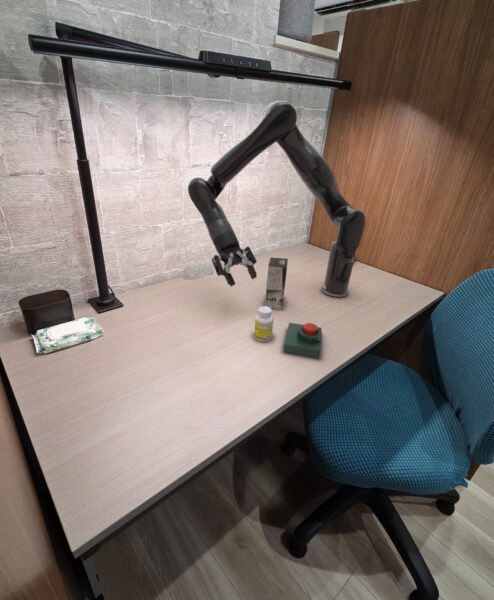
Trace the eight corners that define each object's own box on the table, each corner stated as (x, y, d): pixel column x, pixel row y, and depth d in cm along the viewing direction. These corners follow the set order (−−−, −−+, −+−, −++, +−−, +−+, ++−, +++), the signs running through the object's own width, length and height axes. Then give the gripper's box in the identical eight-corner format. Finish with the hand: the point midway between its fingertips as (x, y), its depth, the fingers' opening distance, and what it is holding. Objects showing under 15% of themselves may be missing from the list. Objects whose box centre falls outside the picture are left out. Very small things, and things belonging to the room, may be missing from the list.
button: (303, 327, 95) (304, 322, 94) (316, 329, 94) (317, 324, 93) (302, 334, 91) (303, 329, 90) (316, 336, 90) (317, 331, 90)
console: (288, 330, 101) (289, 317, 99) (319, 335, 99) (322, 322, 97) (283, 352, 91) (285, 338, 89) (318, 359, 89) (321, 344, 87)
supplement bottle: (256, 330, 101) (258, 303, 96) (273, 333, 99) (276, 306, 95) (252, 339, 96) (254, 312, 91) (269, 343, 95) (272, 315, 90)
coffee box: (282, 309, 113) (286, 267, 105) (264, 307, 114) (267, 265, 106) (283, 297, 121) (288, 258, 113) (267, 295, 122) (270, 256, 114)
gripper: (208, 234, 93) (231, 283, 91) (245, 226, 101) (267, 271, 99) (199, 246, 100) (220, 292, 98) (235, 237, 107) (255, 280, 105)
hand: (244, 281), depth 98 cm, fingers open, 8 cm apart
